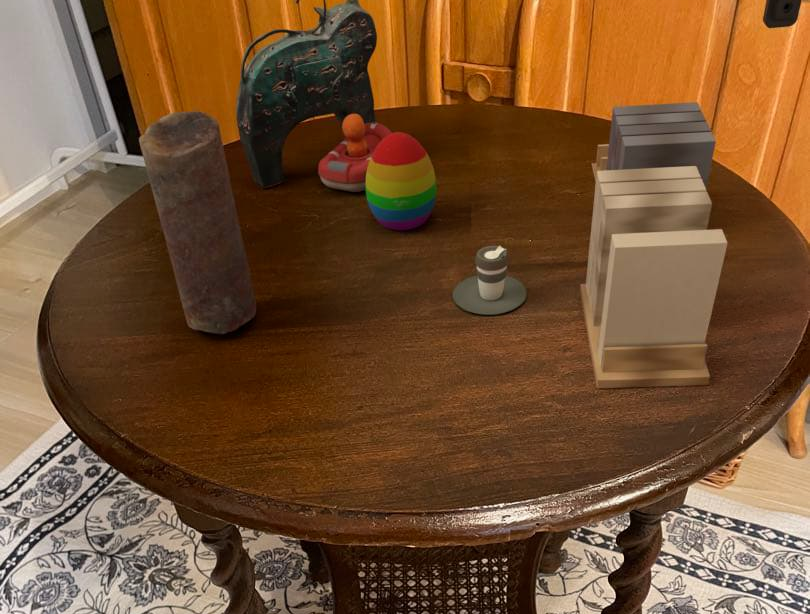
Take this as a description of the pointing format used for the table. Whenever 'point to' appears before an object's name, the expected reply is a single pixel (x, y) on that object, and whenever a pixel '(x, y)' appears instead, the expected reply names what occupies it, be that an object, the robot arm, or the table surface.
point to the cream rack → (612, 214)
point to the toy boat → (352, 155)
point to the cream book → (660, 288)
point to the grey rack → (657, 139)
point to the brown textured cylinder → (199, 220)
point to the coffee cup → (490, 285)
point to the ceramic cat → (304, 83)
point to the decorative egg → (400, 182)
